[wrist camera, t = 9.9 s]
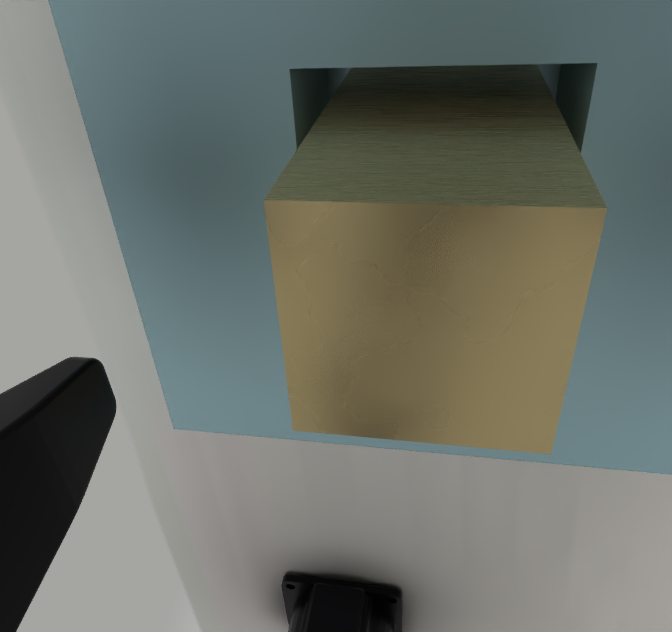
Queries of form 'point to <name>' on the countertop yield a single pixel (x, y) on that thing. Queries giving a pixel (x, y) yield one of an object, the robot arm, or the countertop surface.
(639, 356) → the hole block
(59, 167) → the countertop surface
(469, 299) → the brass pin
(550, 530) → the countertop surface
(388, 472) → the countertop surface
